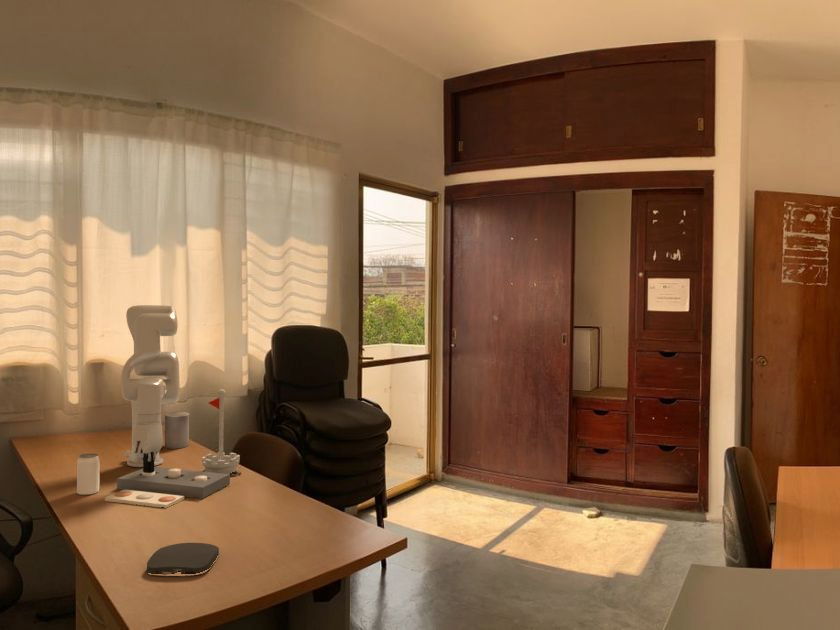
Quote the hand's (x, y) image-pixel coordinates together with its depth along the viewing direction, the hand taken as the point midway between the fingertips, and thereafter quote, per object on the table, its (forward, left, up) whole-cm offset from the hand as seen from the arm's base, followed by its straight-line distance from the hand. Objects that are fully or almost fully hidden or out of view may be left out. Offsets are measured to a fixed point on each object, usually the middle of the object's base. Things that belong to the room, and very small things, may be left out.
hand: (148, 472), depth 221 cm
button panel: (+10, 0, -4) cm, 11 cm away
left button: (0, 0, -3) cm, 3 cm away
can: (-12, -14, -4) cm, 19 cm away
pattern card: (+10, -15, -4) cm, 18 cm away
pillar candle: (-24, +50, -4) cm, 56 cm away
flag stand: (+14, +22, -4) cm, 26 cm away
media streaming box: (+50, -53, -5) cm, 73 cm away
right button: (+20, 0, -3) cm, 20 cm away
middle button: (+10, 0, -2) cm, 10 cm away
